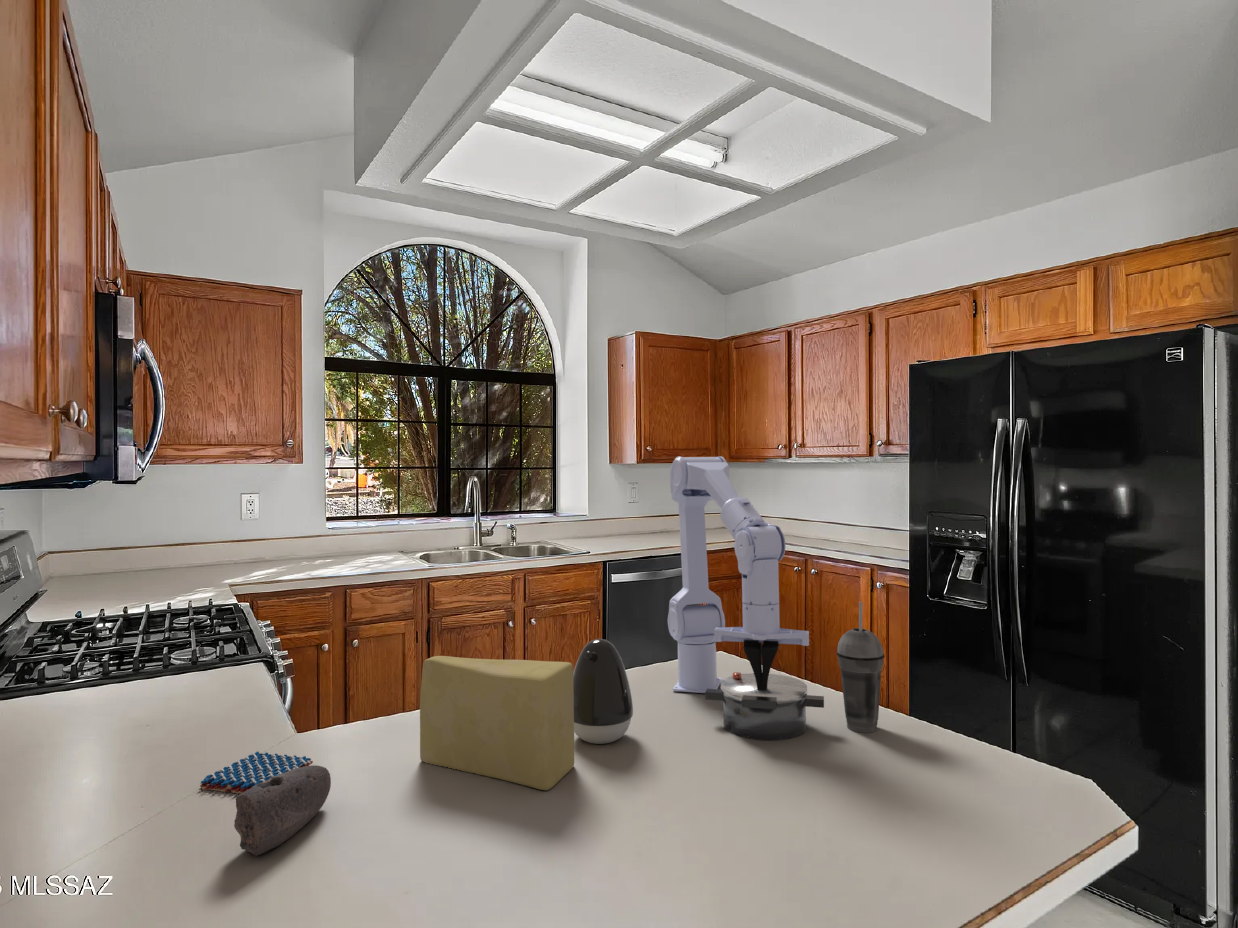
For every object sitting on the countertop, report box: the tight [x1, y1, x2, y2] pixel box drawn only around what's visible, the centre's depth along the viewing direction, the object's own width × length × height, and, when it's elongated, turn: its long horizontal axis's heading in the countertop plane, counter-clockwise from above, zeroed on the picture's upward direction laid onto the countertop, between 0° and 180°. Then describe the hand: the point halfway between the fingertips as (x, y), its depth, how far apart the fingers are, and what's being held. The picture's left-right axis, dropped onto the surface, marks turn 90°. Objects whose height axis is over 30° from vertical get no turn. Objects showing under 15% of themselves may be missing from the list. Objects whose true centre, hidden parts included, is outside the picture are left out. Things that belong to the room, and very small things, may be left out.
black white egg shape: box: [573, 638, 634, 745], centre depth 111 cm, size 10×10×15 cm
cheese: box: [419, 655, 575, 791], centre depth 100 cm, size 22×10×15 cm, turn 70°
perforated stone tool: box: [233, 764, 332, 856], centre depth 82 cm, size 15×5×7 cm, turn 165°
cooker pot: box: [704, 688, 825, 741], centre depth 115 cm, size 13×19×6 cm
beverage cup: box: [836, 601, 886, 734], centre depth 114 cm, size 7×7×20 cm
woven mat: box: [199, 751, 314, 794], centre depth 98 cm, size 10×11×2 cm
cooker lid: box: [720, 671, 808, 710], centre depth 114 cm, size 15×14×2 cm
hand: (762, 688), depth 113 cm, fingers closed, pressing on cooker lid
